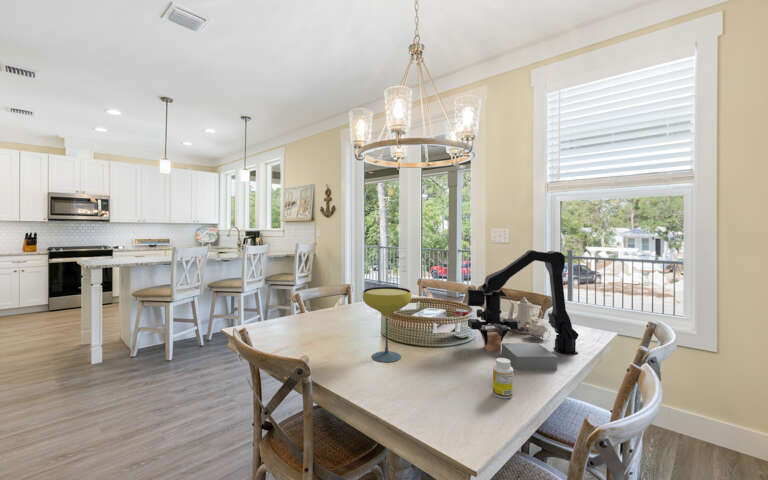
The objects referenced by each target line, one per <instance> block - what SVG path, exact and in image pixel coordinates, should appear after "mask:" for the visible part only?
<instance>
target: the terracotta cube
mask: <svg viewBox="0 0 768 480" xmlns="http://www.w3.org/2000/svg"><path fill="white" fill-rule="evenodd" d="M483 348H485V350H486V351H487V352H502V342H501V336H500V335H499V334H498V332H495V331H494V332H493V331H492V332H488V331H487V346H486V345H485V344H484V343H483Z"/></svg>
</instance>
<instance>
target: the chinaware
mask: <svg viewBox="0 0 768 480" xmlns="http://www.w3.org/2000/svg"><path fill="white" fill-rule="evenodd" d="M509 302H510V307H509V308H510V309H509V311H508V314H507V318H506V317H504V316H500V321H503V319H513V320H515V321H516V322H517V323H518V329H513V331H514V330H515V331H514V332H516V333H518V332H519V333H518V334H524V333H525V334H526V335H527V334H528V335H530V336H531V337H532V339H534V340H541V339H544V338H547V336H546V335H545V334H546V333H547V332H548V333H549V336H548V338H550V337H551V331H550V330H548V327H547V326H545V325H538V323H539V321H540V320H541V318H542V317H543V315H544V314H543V311H542V308H541V307H539V306H536V305H532V304H533V303H532V302H530V301H528V300H527V298H526V297H525V296H523V298H522V299H521V300H520V301H517V302H516V303H517V313H516V316H515V315H514V314H515V313H514V311H515V303H514V302H513V301H512V300H509ZM535 308H536V309H538V310H539V311H540V316H539V318H532V314H531V310H532V311H533V310H535ZM493 327H494V328H495V329H496V331H498V326H493ZM525 334H524V335H525Z"/></svg>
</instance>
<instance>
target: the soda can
mask: <svg viewBox="0 0 768 480" xmlns="http://www.w3.org/2000/svg"><path fill="white" fill-rule="evenodd" d="M467 314H470V312H469V310H468V309H465V308H456V309H454V313H453V318H454V317H460V316H465V315H467Z"/></svg>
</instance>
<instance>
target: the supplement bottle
mask: <svg viewBox="0 0 768 480" xmlns="http://www.w3.org/2000/svg"><path fill="white" fill-rule="evenodd" d="M492 370H493V371H492V392H493V394H494V396H495V397H496V398H497V397H498V398H499V399H504V400H505V399H511V398H512V397H513V395H514V367H513V366H512V365H511V364H510V360H509V359H506V358H504V357H497V358H496V359H495V364H494V365H493V369H492Z"/></svg>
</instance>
